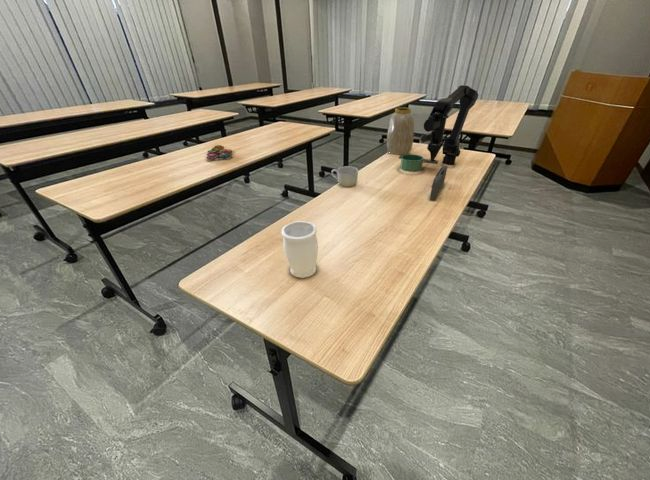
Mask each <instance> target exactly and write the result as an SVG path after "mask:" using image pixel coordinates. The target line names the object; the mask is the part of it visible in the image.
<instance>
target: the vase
mask: <svg viewBox="0 0 650 480" xmlns="http://www.w3.org/2000/svg"><path fill="white" fill-rule="evenodd" d="M414 138H415V117H414V115H413V113H412V108H411V107H396V108H395V109H394V113H393V114H392V115H391V117H390V118H389V122H388V126H387V134H386V143H385V144H386V151H387V153H388V155H393V156H403V155H409V154H410V153H411V151H412V148H413V144H414ZM389 152H390V153H389Z"/></svg>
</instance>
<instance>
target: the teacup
mask: <svg viewBox="0 0 650 480" xmlns="http://www.w3.org/2000/svg"><path fill="white" fill-rule="evenodd" d="M334 172H335V173H336V175H335V174H334ZM330 174H331V175H330V176H332V177H333V178H334V179H335V180H336V181H337V183H338V184H339V183H340V184H339V185H341V186H342V187H344V188H350V187H353V186H354V185H356V183H358V179H359V178H358V176H359V169H358V168H357V167H355V166H351V165H350V166H349V165H345V166H340V167H338V168H337V169H336V168H333V169H332V170H331V172H330Z"/></svg>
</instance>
